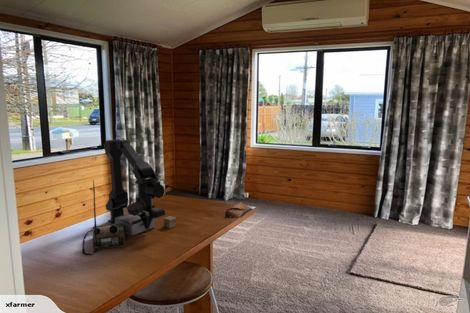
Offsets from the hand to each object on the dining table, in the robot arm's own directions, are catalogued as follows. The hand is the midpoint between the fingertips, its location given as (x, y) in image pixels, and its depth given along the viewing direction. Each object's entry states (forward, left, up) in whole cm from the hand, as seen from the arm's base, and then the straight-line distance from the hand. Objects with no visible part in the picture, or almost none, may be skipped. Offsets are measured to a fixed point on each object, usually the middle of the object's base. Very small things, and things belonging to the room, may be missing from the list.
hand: (147, 229), depth 155 cm
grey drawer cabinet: (-8, 0, -2) cm, 9 cm away
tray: (-7, 0, -1) cm, 7 cm away
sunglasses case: (+16, +48, -3) cm, 50 cm away
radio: (-3, -19, -3) cm, 20 cm away
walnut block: (+2, +12, -2) cm, 12 cm away
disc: (-8, 0, 0) cm, 8 cm away
